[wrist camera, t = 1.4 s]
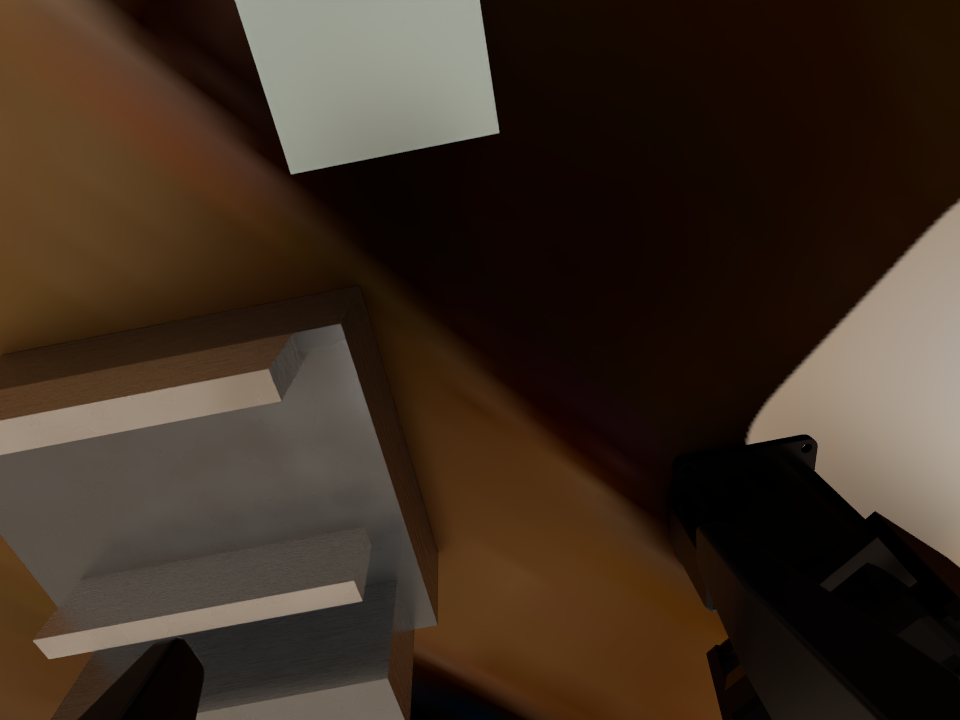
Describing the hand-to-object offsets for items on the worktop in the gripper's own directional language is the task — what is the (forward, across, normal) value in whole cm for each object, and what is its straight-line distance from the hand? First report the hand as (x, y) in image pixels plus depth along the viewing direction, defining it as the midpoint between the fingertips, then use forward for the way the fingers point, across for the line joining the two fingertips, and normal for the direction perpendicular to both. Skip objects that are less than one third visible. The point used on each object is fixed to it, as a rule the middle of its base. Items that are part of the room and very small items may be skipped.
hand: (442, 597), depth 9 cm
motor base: (+13, +10, +5) cm, 17 cm away
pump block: (+13, -1, -9) cm, 16 cm away
